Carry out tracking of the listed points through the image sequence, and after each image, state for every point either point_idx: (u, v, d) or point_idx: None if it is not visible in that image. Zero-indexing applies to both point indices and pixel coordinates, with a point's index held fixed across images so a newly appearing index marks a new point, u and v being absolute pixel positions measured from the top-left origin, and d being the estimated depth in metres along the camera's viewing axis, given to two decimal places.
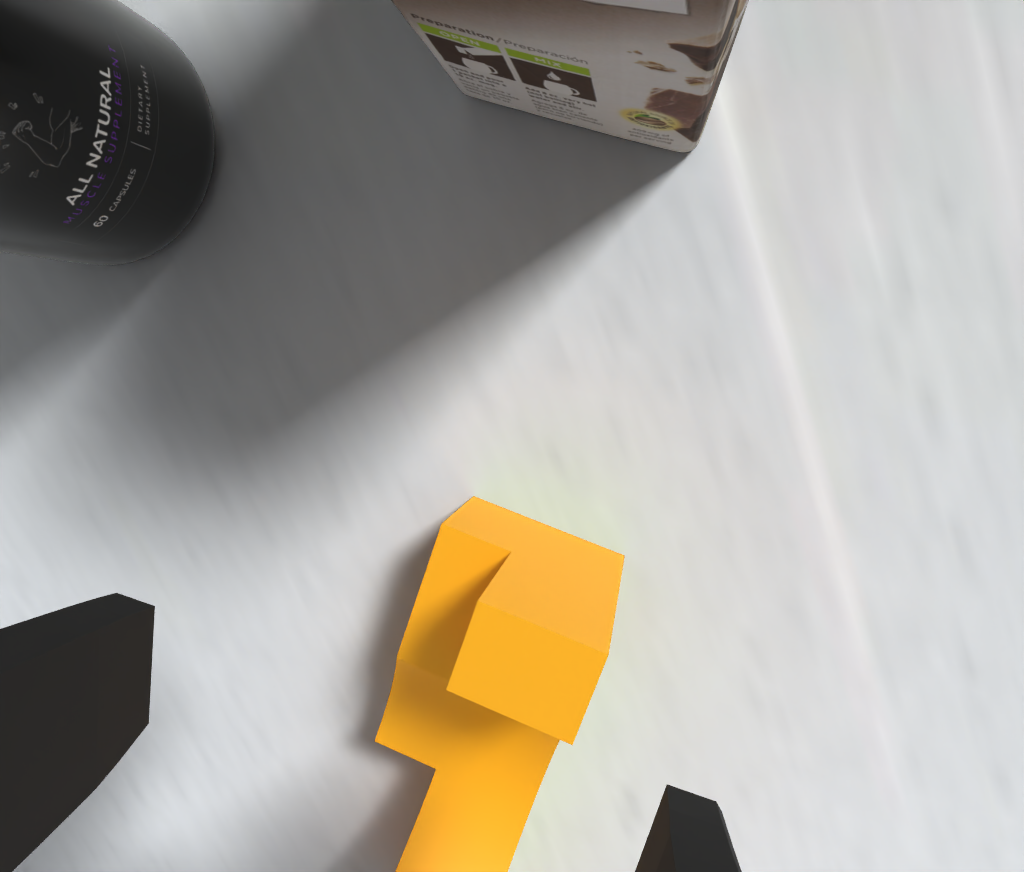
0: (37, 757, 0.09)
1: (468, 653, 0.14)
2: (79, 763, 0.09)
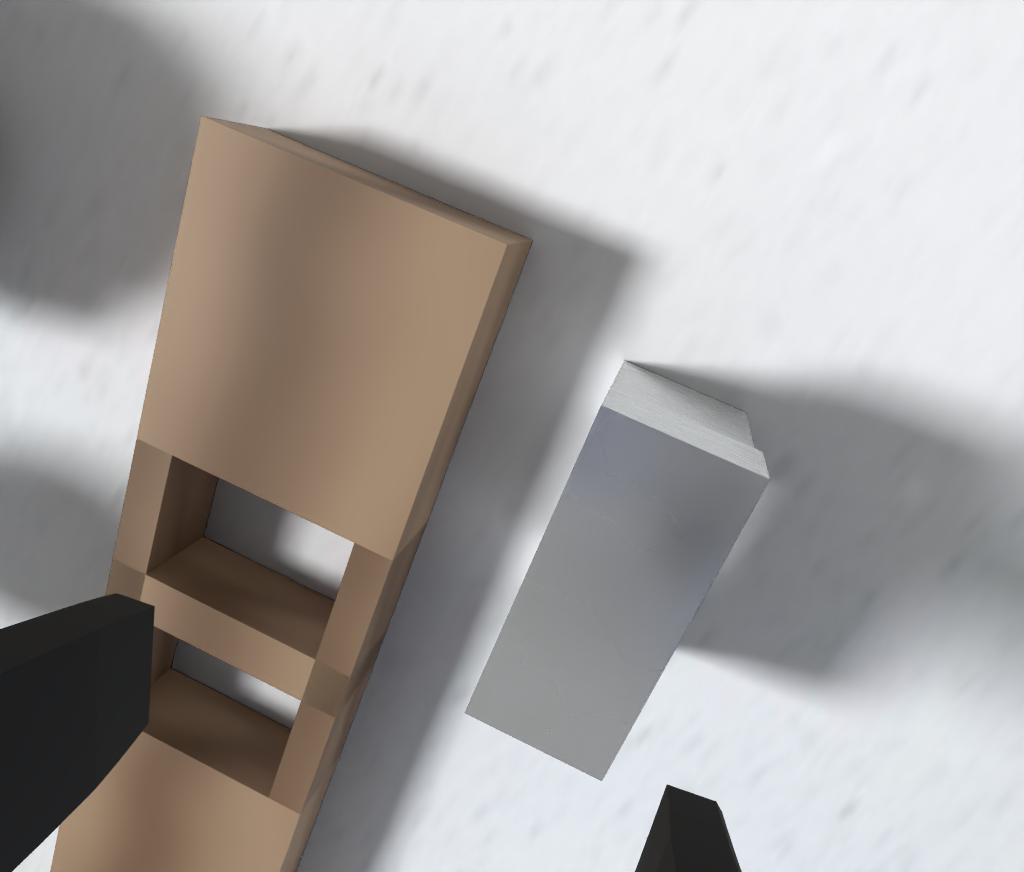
0: (37, 757, 0.09)
1: None
2: (79, 763, 0.09)
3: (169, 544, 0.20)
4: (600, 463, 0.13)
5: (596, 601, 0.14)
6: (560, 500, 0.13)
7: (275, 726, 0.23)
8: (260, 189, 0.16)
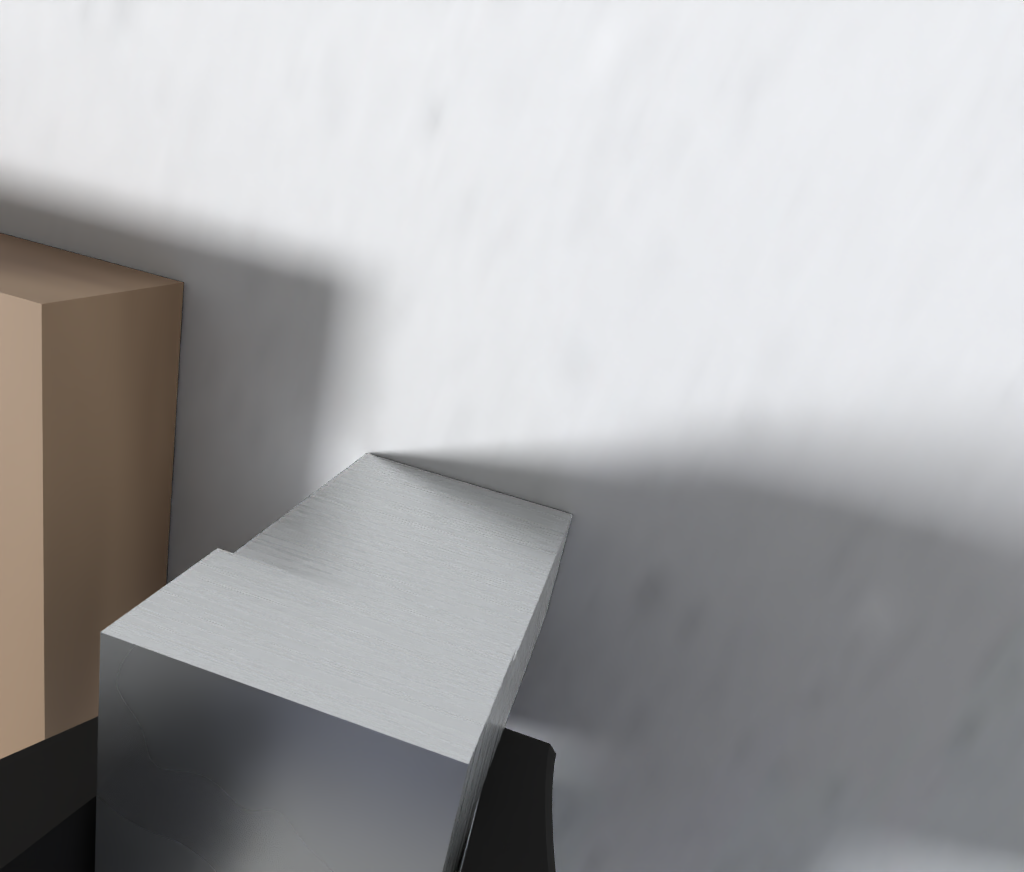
0: None
1: None
2: None
3: None
4: (140, 745, 0.06)
5: None
6: (96, 818, 0.06)
7: None
8: None
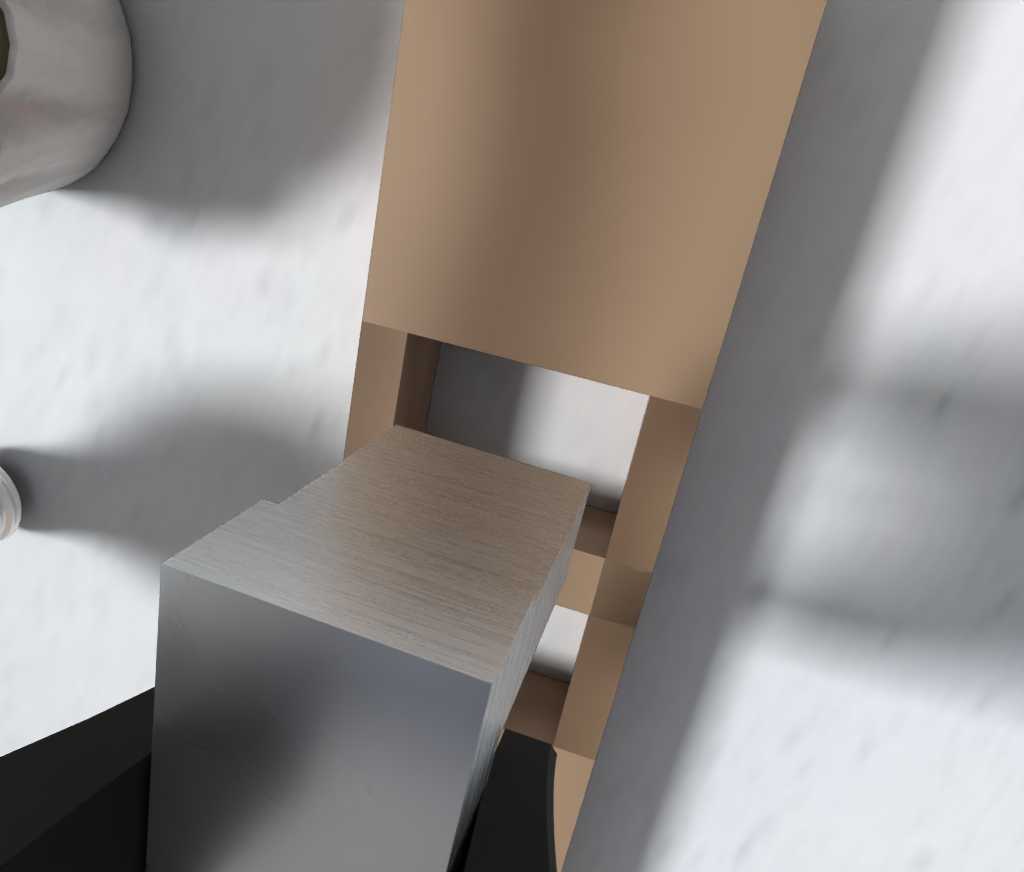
0: None
1: None
2: None
3: None
4: (194, 669, 0.07)
5: None
6: (152, 738, 0.07)
7: (526, 673, 0.19)
8: None
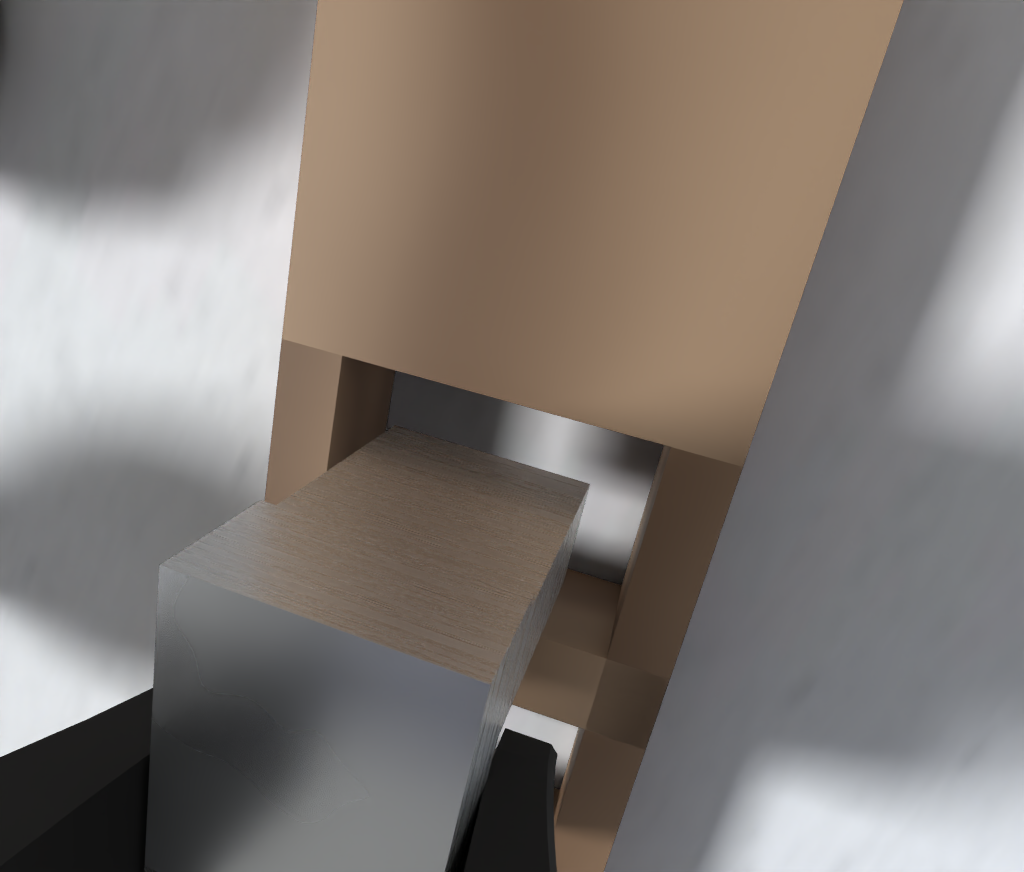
0: None
1: None
2: None
3: None
4: (192, 670, 0.07)
5: None
6: (151, 739, 0.07)
7: None
8: None
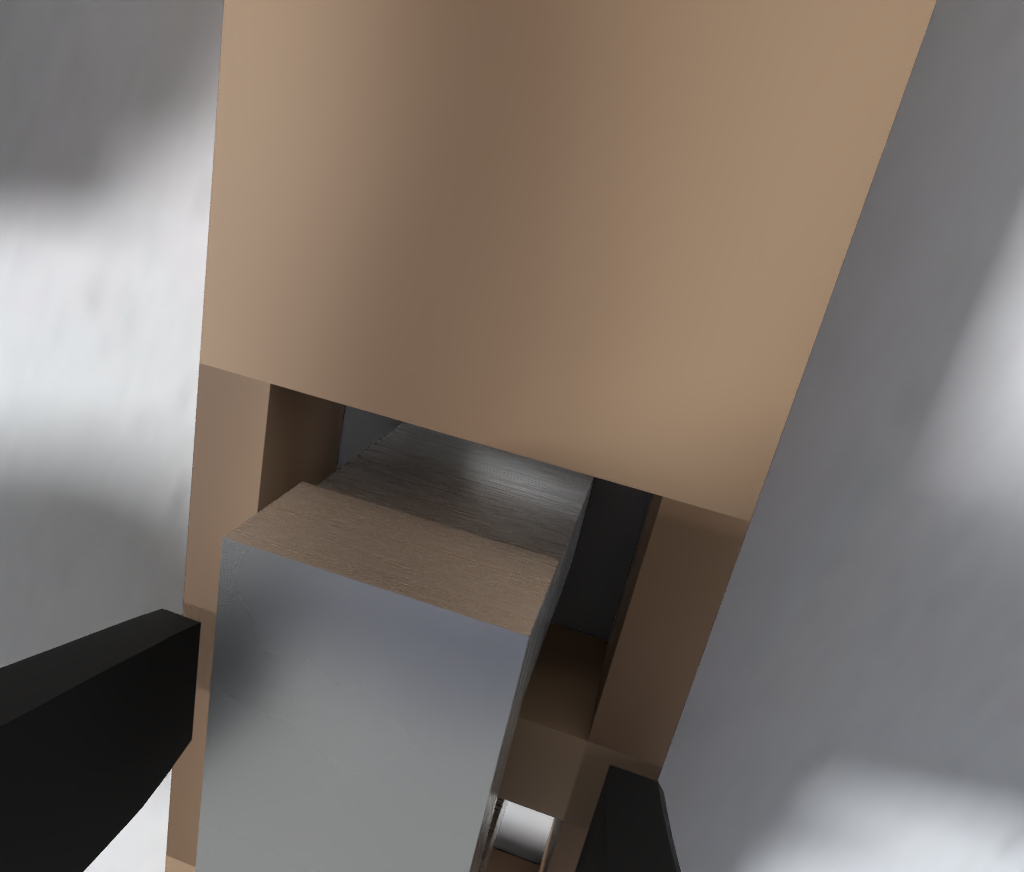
0: (89, 778, 0.09)
1: None
2: (128, 782, 0.09)
3: None
4: (251, 634, 0.07)
5: (314, 855, 0.08)
6: (210, 700, 0.08)
7: None
8: None
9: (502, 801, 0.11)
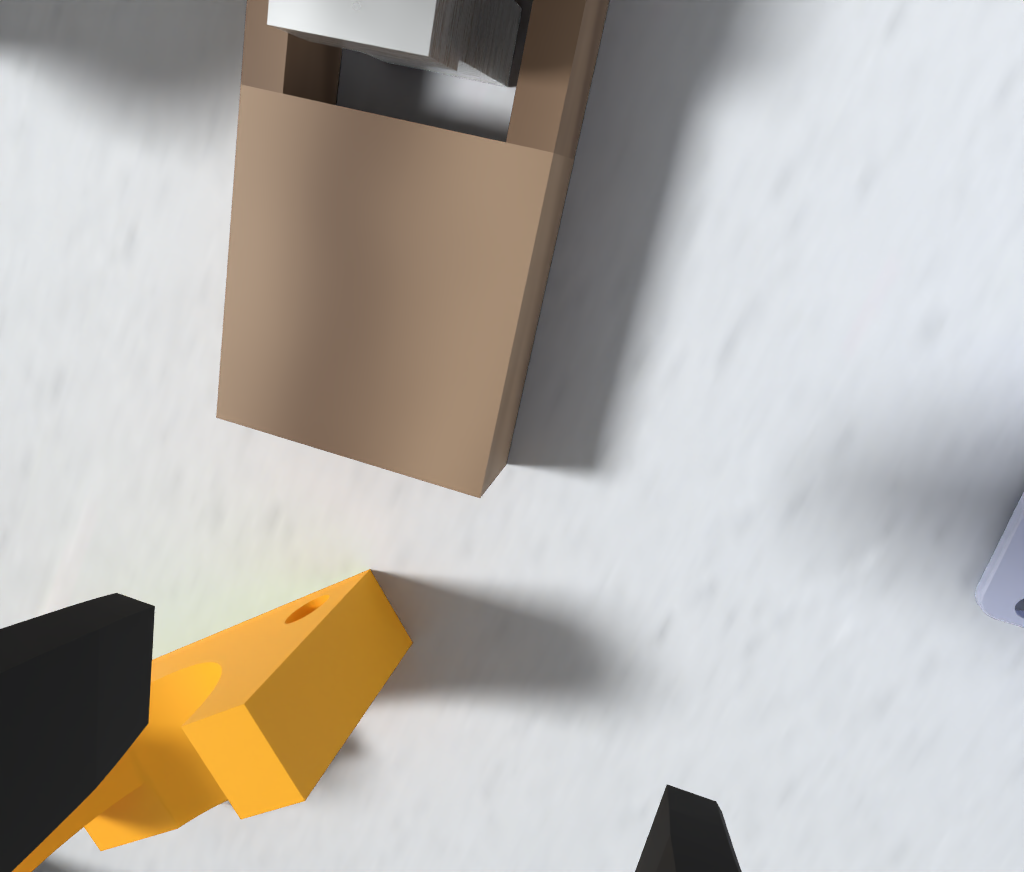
0: (37, 757, 0.09)
1: None
2: (79, 763, 0.09)
3: None
4: None
5: None
6: None
7: None
8: None
9: None
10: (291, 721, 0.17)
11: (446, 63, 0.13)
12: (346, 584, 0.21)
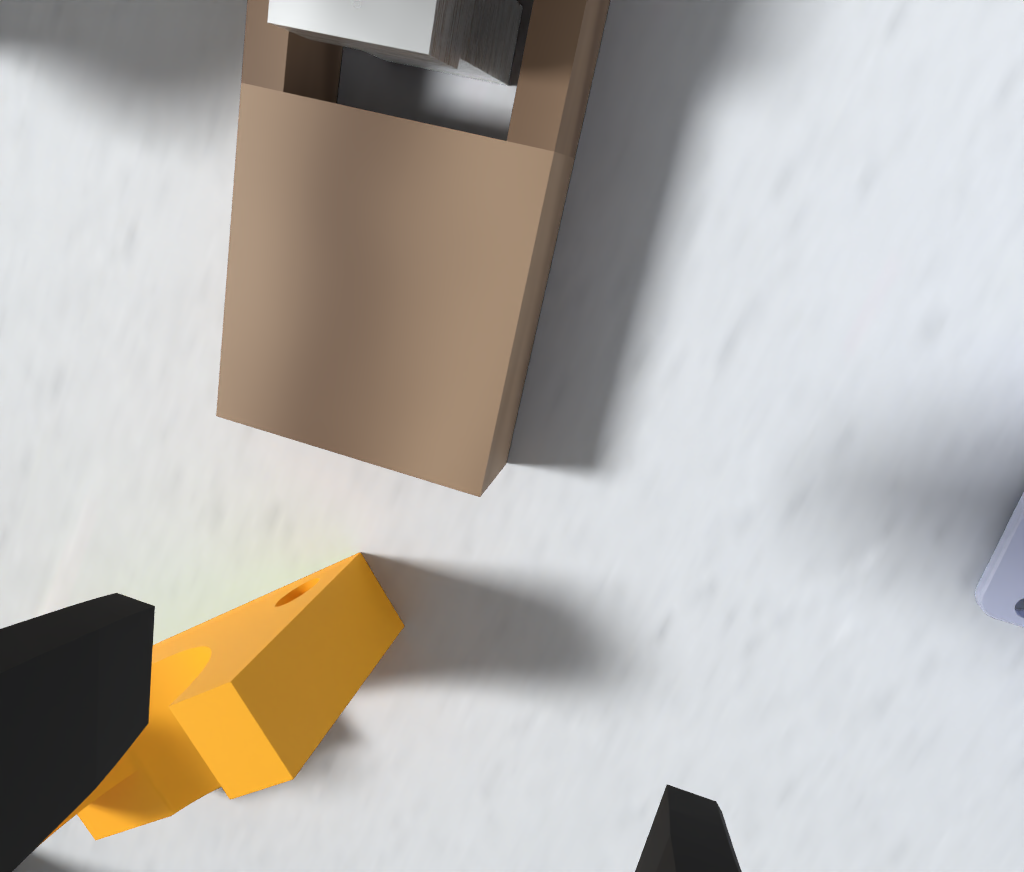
0: (37, 757, 0.09)
1: None
2: (79, 763, 0.09)
3: None
4: None
5: None
6: None
7: None
8: None
9: None
10: (279, 701, 0.17)
11: (446, 61, 0.13)
12: (336, 567, 0.21)
